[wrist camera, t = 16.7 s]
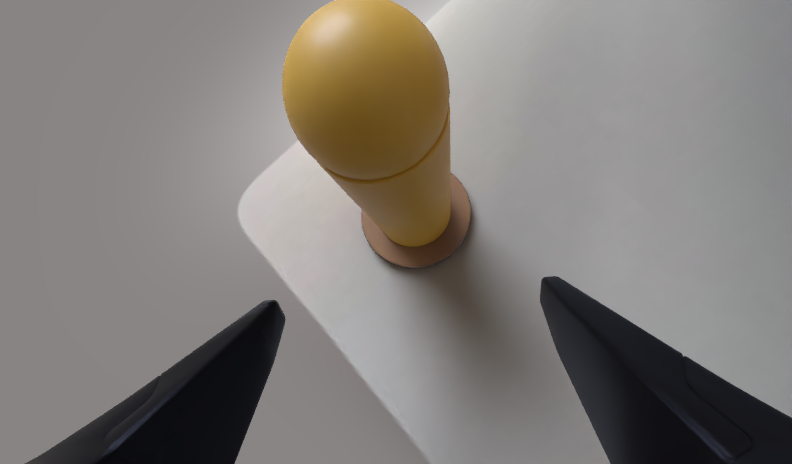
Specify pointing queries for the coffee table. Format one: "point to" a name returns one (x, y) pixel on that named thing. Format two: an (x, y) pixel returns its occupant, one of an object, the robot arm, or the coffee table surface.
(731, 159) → the coffee table surface
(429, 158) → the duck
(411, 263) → the coaster
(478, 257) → the coffee table surface
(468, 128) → the coffee table surface
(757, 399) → the robot arm
